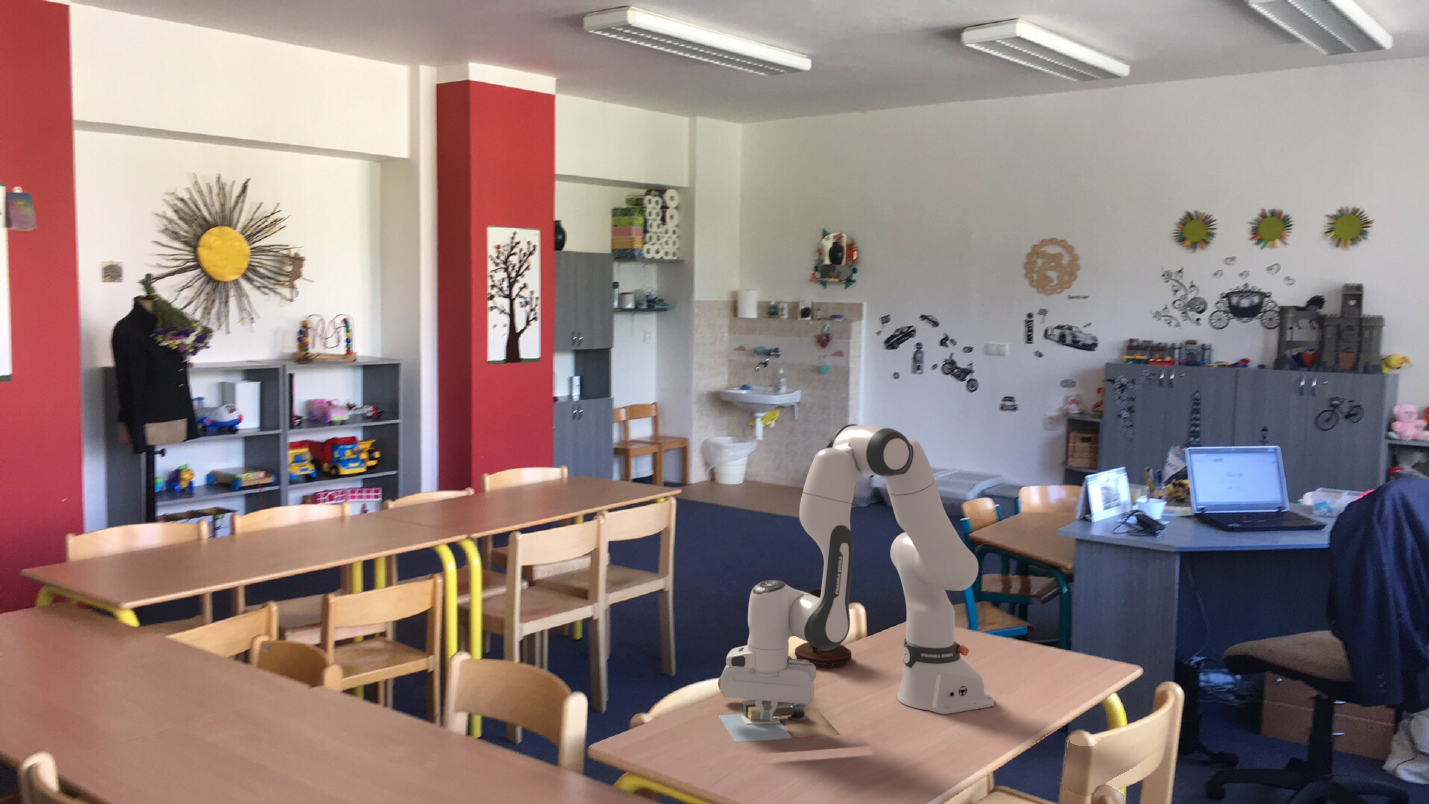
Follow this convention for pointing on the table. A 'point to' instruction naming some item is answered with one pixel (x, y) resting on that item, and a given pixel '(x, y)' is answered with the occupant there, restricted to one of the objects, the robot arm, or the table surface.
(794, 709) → the latch bar
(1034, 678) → the table surface
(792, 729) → the board
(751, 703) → the keeper block
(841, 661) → the brown tall piece
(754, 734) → the door board
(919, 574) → the robot arm
